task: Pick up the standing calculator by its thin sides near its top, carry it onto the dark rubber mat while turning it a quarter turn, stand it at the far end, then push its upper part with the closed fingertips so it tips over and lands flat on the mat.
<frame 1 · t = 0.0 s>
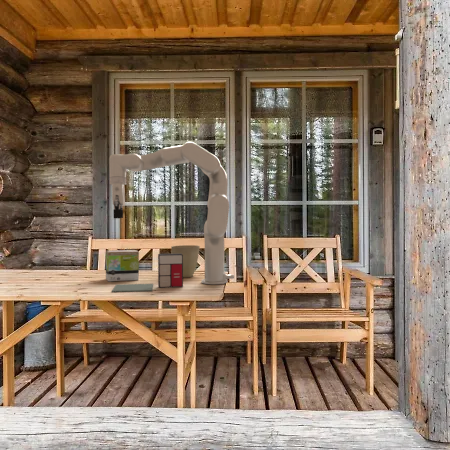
hand: (118, 218, 206), 31 cm above the table, tool pointing down, fingers open, 9 cm apart
tea box: (122, 280, 222), on the table
plant pot: (185, 276, 233), on the table
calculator: (170, 287, 201), on the table
mat: (133, 288, 197), on the table
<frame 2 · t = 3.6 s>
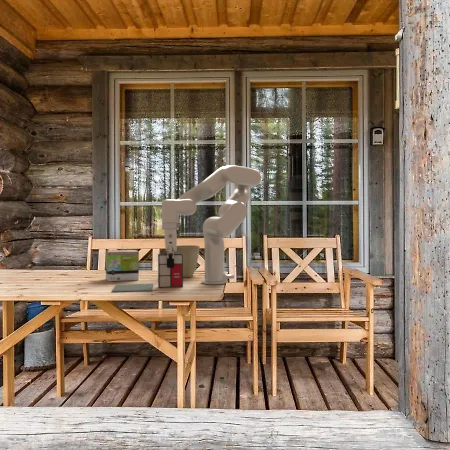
hand: (170, 266, 201), 9 cm above the table, tool pointing down, fingers closed on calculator, 4 cm apart
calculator: (170, 287, 201), on the table, touching gripper
everything else where it was.
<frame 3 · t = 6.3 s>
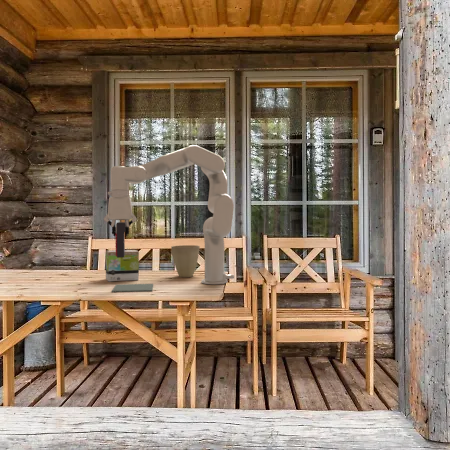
hand: (120, 235, 196), 24 cm above the table, tool pointing down, fingers closed on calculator, 4 cm apart
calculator: (120, 256, 196), point 14 cm above the table, touching gripper
everything else where it was.
when the fingers open (10 cm above the table, at t = 9.0 s): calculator stays where it is, resting on mat.
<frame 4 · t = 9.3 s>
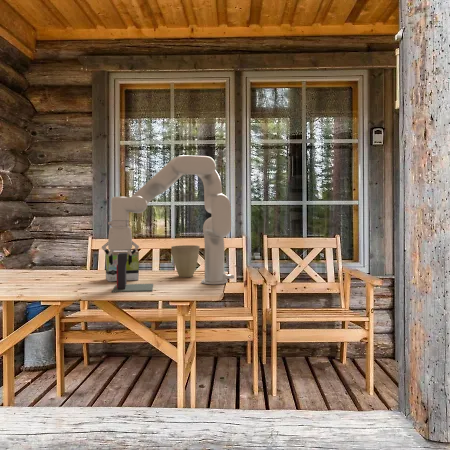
hand: (120, 264, 196), 11 cm above the table, tool pointing down, fingers open, 7 cm apart
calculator: (122, 287, 197), resting on mat
everything else where it was.
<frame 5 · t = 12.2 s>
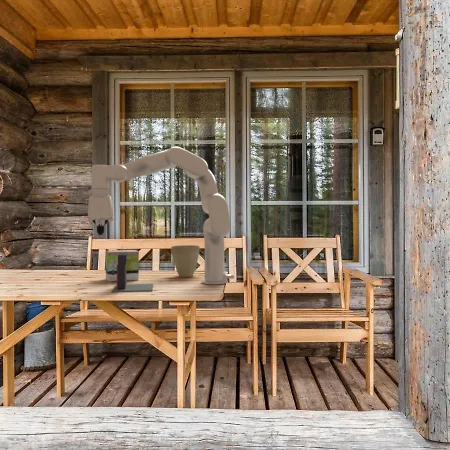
hand: (100, 234, 195), 24 cm above the table, tool pointing down, fingers closed
nothing on the table moved.
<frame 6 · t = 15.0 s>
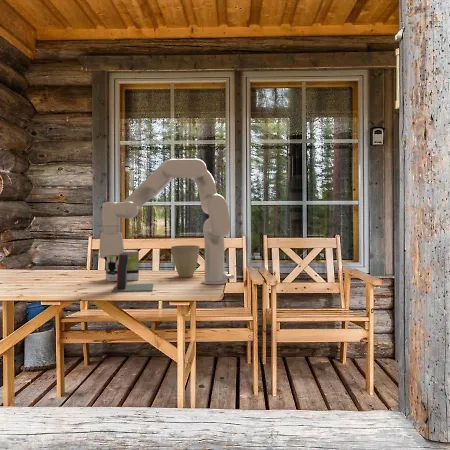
hand: (112, 271, 196), 8 cm above the table, tool pointing down, fingers closed
nothing on the table moved.
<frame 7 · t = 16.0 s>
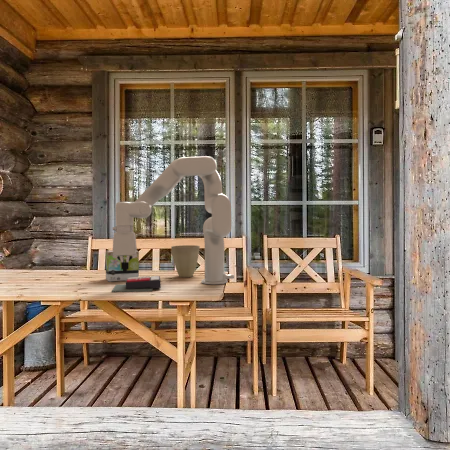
hand: (125, 270, 196), 8 cm above the table, tool pointing down, fingers closed
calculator: (125, 283, 197), point 2 cm above the table, touching mat
everything else where it was.
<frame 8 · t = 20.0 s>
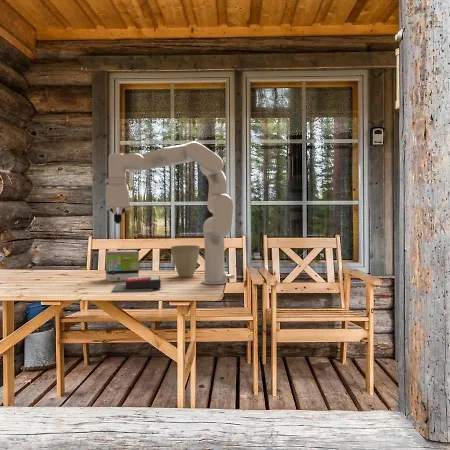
hand: (117, 223, 195), 29 cm above the table, tool pointing down, fingers closed
nothing on the table moved.
at the end: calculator tilted 87°; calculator inside the target area (5.3 cm from its centre), point 2.1 cm above the table; the gripper is holding nothing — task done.
